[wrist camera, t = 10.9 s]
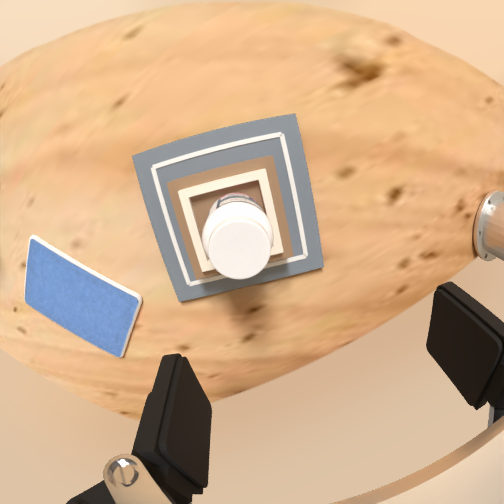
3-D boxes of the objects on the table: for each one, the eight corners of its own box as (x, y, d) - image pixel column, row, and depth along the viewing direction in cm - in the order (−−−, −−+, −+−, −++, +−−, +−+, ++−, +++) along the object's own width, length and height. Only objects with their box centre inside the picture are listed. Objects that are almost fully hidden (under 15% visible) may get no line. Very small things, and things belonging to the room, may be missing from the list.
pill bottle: (240, 257, 27) (244, 303, 18) (196, 225, 25) (180, 259, 17) (275, 215, 26) (297, 245, 17) (232, 180, 24) (232, 192, 16)
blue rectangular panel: (26, 299, 32) (22, 302, 31) (33, 230, 29) (28, 233, 28) (124, 355, 37) (121, 361, 35) (146, 293, 33) (143, 298, 32)
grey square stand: (293, 114, 27) (307, 105, 22) (322, 264, 33) (337, 284, 28) (134, 155, 27) (114, 156, 22) (180, 298, 33) (172, 323, 28)
